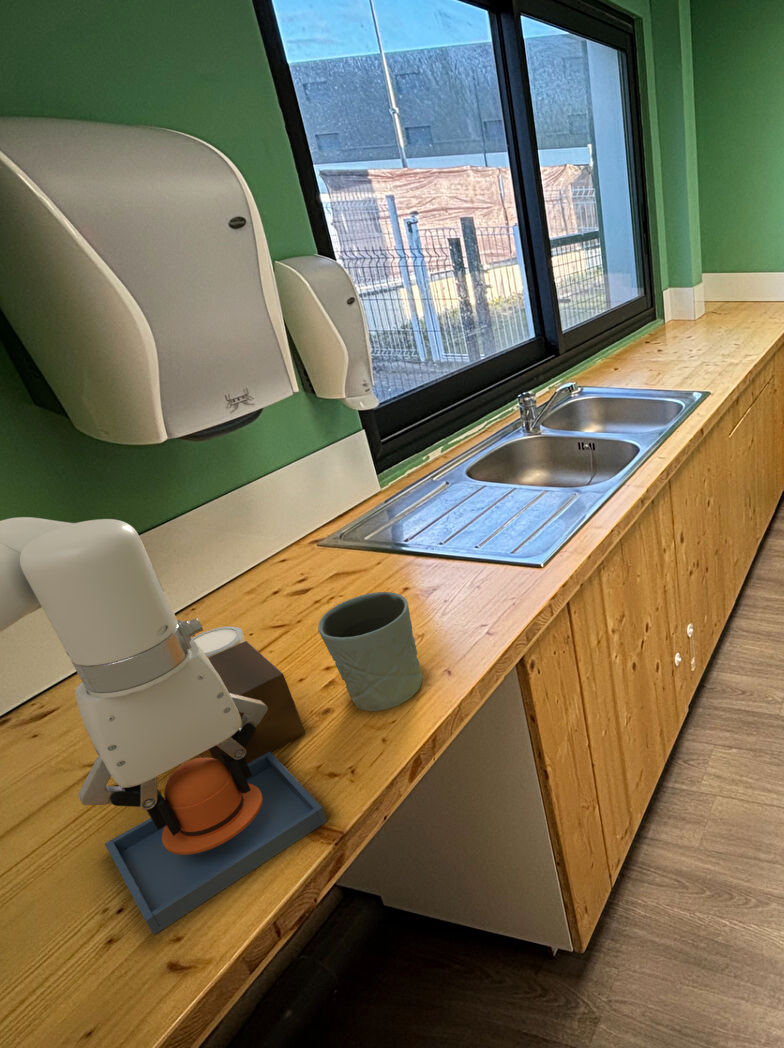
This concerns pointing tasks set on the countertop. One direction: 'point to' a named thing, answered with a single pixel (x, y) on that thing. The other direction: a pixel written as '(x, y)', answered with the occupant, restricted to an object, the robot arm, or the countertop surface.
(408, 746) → the countertop surface
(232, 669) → the stand block
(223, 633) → the shot glass
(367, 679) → the grey-green cup
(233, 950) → the countertop surface
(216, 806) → the hat
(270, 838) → the tray
